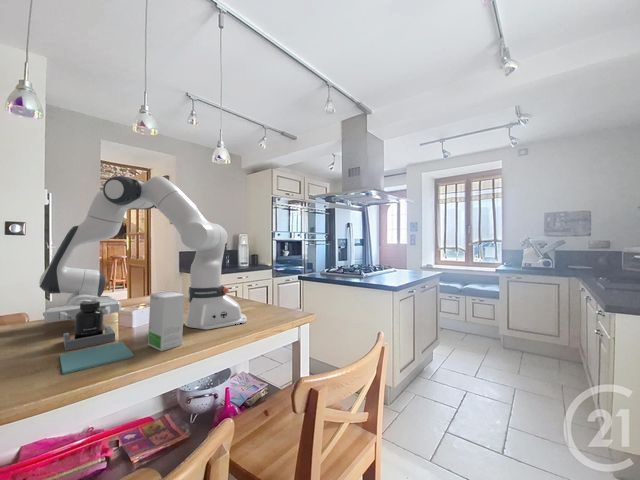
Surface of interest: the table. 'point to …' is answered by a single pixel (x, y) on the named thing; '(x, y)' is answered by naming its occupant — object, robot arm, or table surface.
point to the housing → (88, 340)
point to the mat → (94, 357)
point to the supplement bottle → (89, 320)
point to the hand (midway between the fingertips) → (87, 314)
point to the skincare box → (166, 320)
